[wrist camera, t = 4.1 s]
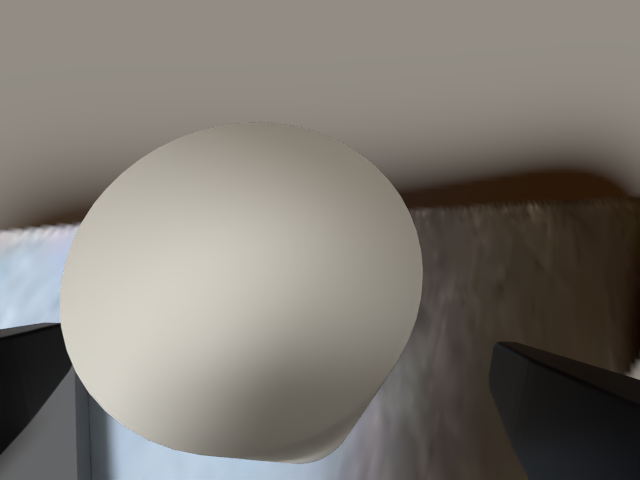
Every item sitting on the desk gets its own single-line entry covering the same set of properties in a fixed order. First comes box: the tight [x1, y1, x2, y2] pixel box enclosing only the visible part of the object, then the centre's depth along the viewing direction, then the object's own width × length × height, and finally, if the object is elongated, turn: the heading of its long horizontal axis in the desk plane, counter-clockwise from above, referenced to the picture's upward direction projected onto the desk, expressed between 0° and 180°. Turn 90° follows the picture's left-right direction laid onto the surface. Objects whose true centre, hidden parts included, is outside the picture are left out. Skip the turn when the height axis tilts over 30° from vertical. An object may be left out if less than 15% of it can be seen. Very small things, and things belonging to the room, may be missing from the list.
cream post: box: [59, 122, 423, 464], centre depth 11 cm, size 4×4×13 cm
